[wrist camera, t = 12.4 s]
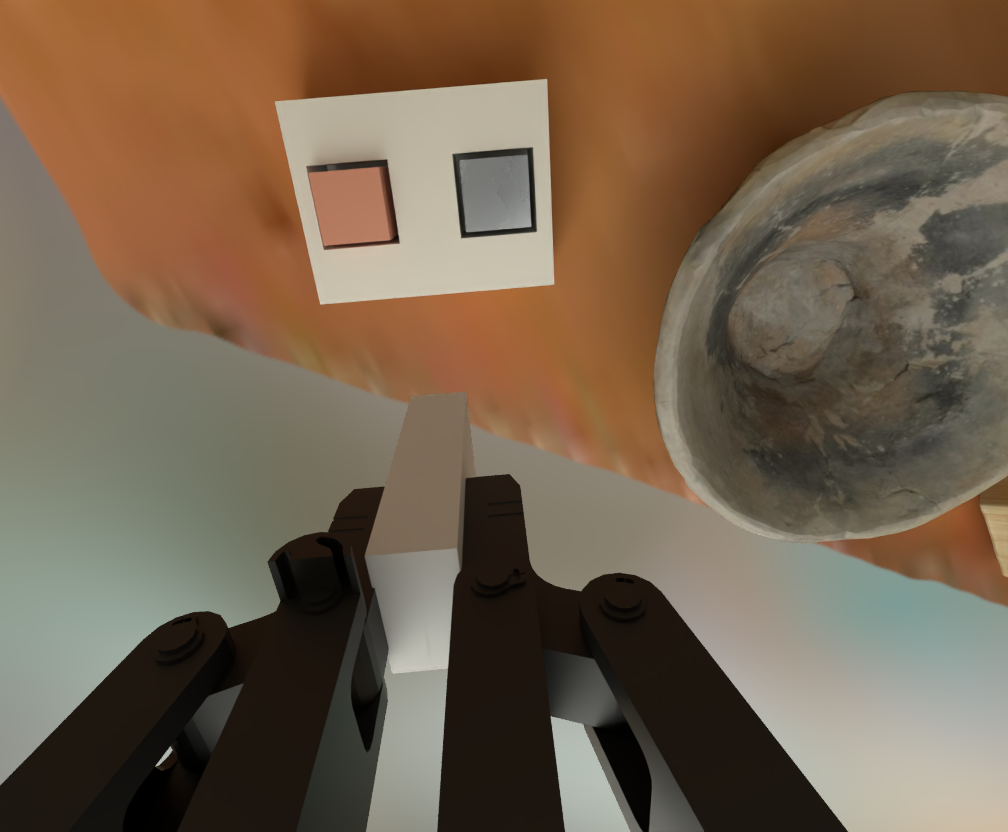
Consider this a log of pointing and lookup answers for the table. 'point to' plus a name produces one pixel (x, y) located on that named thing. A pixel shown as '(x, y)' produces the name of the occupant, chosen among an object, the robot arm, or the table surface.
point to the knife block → (997, 520)
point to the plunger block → (424, 187)
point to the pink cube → (354, 205)
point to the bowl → (848, 326)
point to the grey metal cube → (496, 193)
